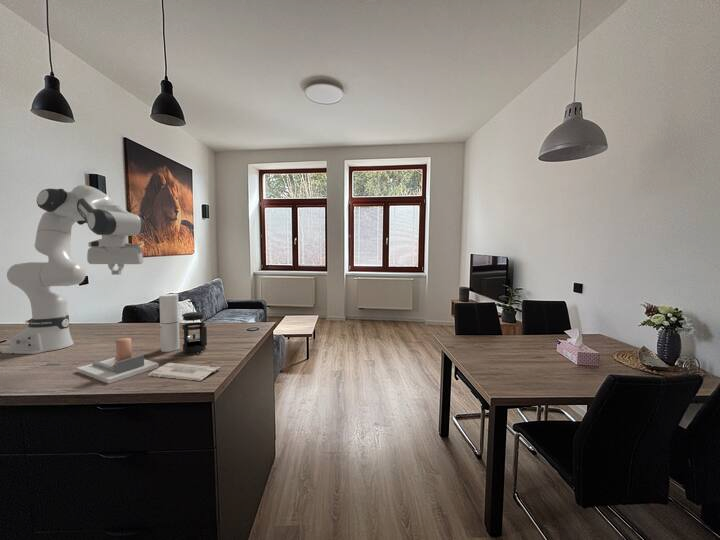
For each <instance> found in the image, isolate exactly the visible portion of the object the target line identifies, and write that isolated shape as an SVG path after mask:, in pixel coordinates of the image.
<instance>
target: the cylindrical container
mask: <svg viewBox="0 0 720 540" xmlns="http://www.w3.org/2000/svg"><path fill="white" fill-rule="evenodd" d="M158 298H159V324H160V325H159V327H160V328H159V331H160V351H161V352H163V353H169V352H175V351H177V349H178V350H179V349H180V317H179V315H180V314H179V313H180V311H179V308H180V307H179V294H178V293H166V294H165V293H164V294H159V296H158ZM174 350H175V351H174Z"/></svg>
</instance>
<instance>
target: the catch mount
mask: <svg viewBox="0 0 720 540" xmlns="http://www.w3.org/2000/svg"><path fill="white" fill-rule="evenodd" d="M113 364H115V367H113ZM159 367H160V364H159V362H155V361H152V360H148V359H145V354H144V355H143V354H140V355H139V354H138V355H135V356H134V355H132V357H131V358H128V359H124V360H121V361H117V355H115V356H114V357H112V358H108V359H105V360H100V361H97V360H95V361H92V363H90V364H85V365H82V366H78V367H76V372H77V373H79V374H82V375H84V374H85V376H87V377H90V378H92V377H93V379H95V380H97V381H101V382H104V383H106V384H108V385H110V384H112V383H115V382H119V381H122V380H125V379H128V378H130V377H134V376H137V375H139V374H142V373H146V372H149V371H153V370H156V369H157V368H159Z"/></svg>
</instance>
